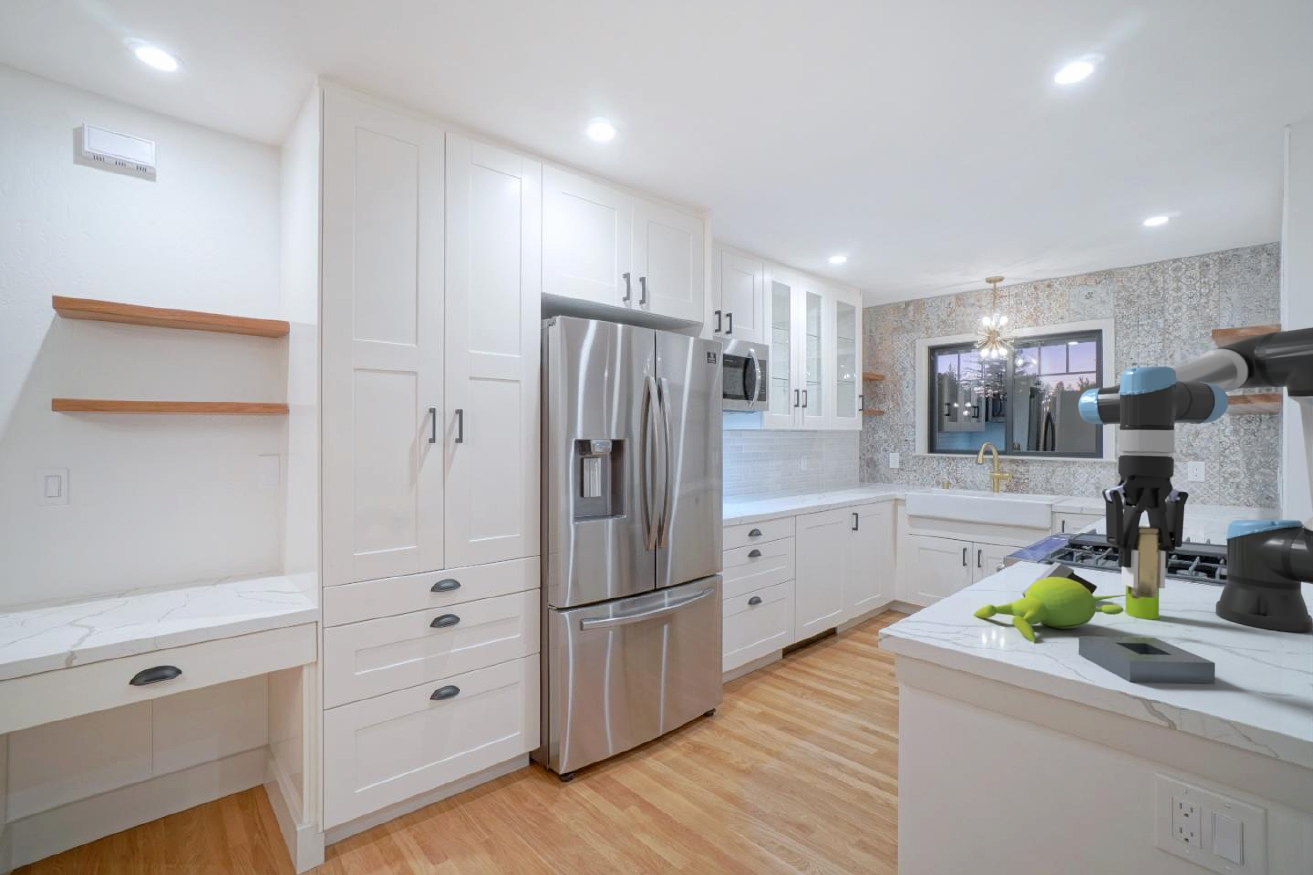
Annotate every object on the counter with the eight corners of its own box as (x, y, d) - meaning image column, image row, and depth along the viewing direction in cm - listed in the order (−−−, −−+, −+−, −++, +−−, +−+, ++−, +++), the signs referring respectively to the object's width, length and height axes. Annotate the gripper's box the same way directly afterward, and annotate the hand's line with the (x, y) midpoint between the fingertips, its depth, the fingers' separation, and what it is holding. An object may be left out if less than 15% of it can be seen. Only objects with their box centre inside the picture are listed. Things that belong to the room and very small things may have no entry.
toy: (1043, 660, 113) (1166, 622, 118) (1033, 608, 113) (1158, 572, 118) (971, 628, 133) (1080, 597, 138) (963, 583, 132) (1072, 554, 138)
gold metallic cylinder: (1144, 591, 104) (1146, 525, 104) (1163, 598, 100) (1165, 529, 100) (1122, 591, 104) (1123, 525, 104) (1140, 597, 100) (1141, 528, 100)
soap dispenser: (1119, 609, 138) (1120, 526, 138) (1157, 614, 134) (1158, 529, 134) (1120, 615, 134) (1122, 529, 134) (1160, 621, 130) (1161, 532, 129)
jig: (1154, 656, 108) (1154, 637, 108) (1214, 683, 96) (1215, 662, 96) (1078, 654, 109) (1079, 636, 109) (1129, 681, 97) (1129, 660, 97)
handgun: (1047, 626, 147) (1018, 591, 146) (1089, 586, 148) (1060, 551, 147) (1058, 631, 143) (1028, 595, 143) (1101, 590, 144) (1071, 554, 143)
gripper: (1175, 455, 106) (1173, 582, 106) (1081, 452, 106) (1079, 579, 106) (1214, 456, 98) (1211, 593, 98) (1113, 454, 99) (1110, 590, 99)
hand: (1142, 585), depth 102 cm, fingers closed on gold metallic cylinder, 4 cm apart
